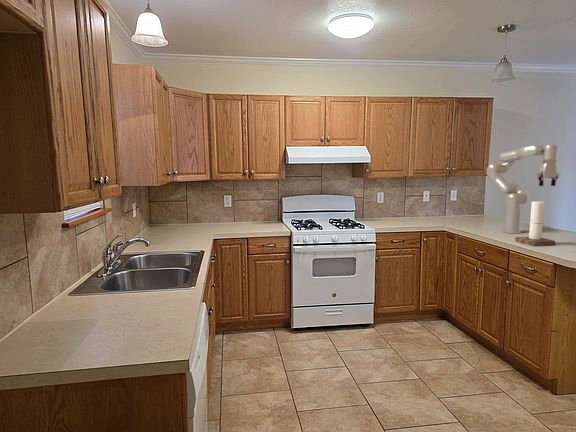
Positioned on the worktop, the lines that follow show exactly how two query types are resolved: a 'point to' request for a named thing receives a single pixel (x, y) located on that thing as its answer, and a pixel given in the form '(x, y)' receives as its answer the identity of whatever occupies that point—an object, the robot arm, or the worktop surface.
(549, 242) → the walnut base
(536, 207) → the cylindrical container
